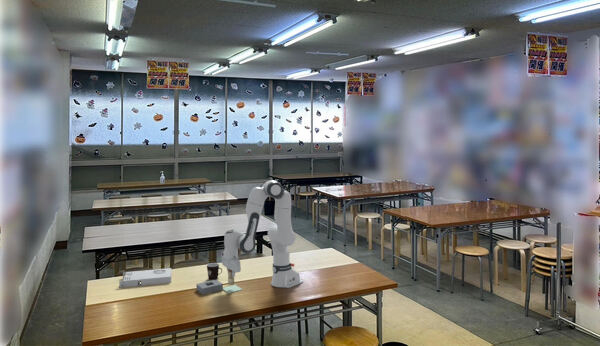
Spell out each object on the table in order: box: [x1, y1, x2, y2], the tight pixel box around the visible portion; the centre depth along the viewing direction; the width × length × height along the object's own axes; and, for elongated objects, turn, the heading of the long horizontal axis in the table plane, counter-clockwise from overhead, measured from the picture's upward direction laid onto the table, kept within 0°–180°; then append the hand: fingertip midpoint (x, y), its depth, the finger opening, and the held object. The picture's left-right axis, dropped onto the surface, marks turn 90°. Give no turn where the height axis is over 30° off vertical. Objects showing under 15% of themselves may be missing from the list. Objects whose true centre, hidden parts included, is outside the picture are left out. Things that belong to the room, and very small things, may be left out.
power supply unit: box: [118, 267, 173, 288], centre depth 288 cm, size 19×33×5 cm, turn 106°
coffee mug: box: [206, 262, 223, 281], centre depth 290 cm, size 12×9×10 cm
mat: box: [222, 284, 243, 294], centre depth 271 cm, size 10×10×1 cm
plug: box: [227, 270, 235, 286], centre depth 270 cm, size 4×4×9 cm
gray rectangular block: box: [195, 279, 224, 295], centre depth 270 cm, size 14×10×4 cm
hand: (231, 275), depth 270 cm, fingers closed on plug, 4 cm apart
